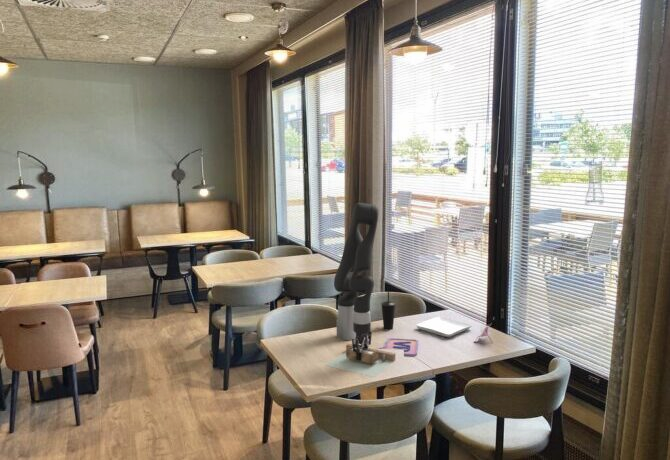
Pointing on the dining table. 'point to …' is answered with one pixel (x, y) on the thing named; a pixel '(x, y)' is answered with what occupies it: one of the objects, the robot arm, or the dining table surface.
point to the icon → (402, 345)
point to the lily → (485, 332)
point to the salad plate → (443, 326)
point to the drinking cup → (388, 313)
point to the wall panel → (363, 363)
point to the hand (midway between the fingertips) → (362, 357)
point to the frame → (363, 355)
